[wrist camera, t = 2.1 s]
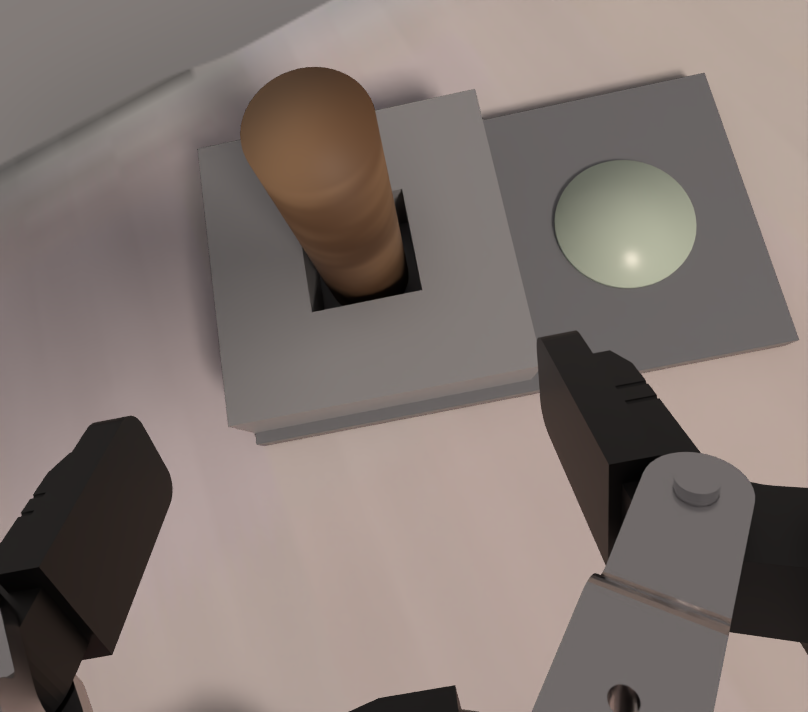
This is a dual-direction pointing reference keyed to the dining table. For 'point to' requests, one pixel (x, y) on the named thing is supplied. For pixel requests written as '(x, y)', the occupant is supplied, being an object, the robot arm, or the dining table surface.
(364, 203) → the walnut plug
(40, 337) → the dining table surface
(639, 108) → the socket board
